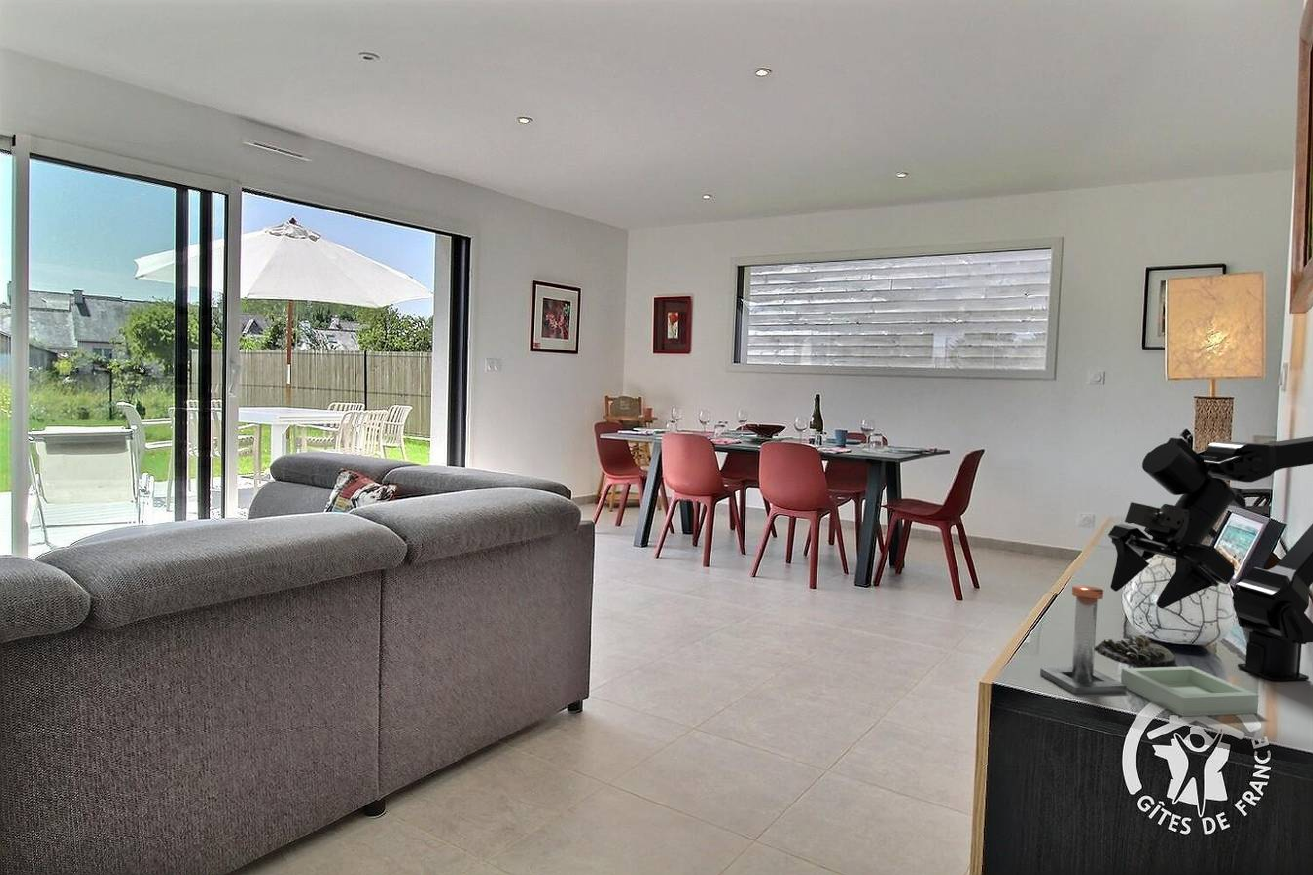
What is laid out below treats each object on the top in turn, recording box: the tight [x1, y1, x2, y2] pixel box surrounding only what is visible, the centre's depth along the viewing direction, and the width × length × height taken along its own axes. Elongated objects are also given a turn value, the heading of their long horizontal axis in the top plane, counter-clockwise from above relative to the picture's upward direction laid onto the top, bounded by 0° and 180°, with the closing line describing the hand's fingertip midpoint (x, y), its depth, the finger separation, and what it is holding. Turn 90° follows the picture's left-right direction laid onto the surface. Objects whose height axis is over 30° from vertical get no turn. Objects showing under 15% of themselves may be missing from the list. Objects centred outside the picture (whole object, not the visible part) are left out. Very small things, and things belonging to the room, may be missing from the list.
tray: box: [1120, 665, 1260, 718], centre depth 116 cm, size 11×11×2 cm
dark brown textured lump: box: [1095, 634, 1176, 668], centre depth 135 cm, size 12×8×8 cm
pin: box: [1071, 585, 1104, 682], centre depth 121 cm, size 4×4×14 cm
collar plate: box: [1039, 666, 1127, 695], centre depth 122 cm, size 8×8×1 cm
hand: (1135, 597), depth 123 cm, fingers open, 9 cm apart
